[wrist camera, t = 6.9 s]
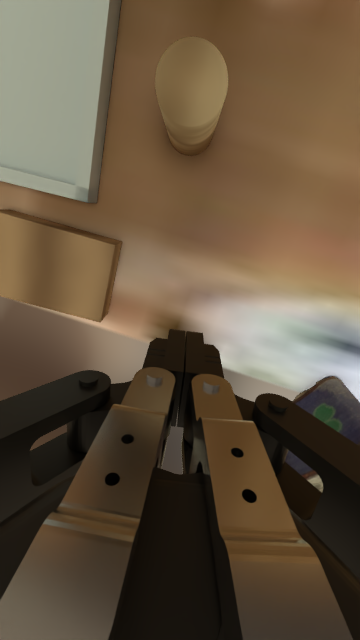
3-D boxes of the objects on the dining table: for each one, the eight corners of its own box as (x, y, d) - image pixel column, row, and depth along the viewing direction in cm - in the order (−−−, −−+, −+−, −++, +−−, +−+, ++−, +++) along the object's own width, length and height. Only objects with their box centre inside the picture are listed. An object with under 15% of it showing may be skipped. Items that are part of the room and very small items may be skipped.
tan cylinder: (219, 108, 22) (237, 48, 14) (207, 160, 23) (216, 134, 15) (173, 95, 22) (163, 27, 14) (163, 149, 23) (148, 116, 15)
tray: (127, -53, 19) (119, -89, 17) (96, 203, 25) (87, 202, 22) (-43, -105, 18) (-76, -149, 16) (-34, 170, 24) (-58, 166, 22)
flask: (332, 370, 30) (404, 452, 20) (347, 389, 31) (424, 477, 21) (259, 417, 32) (291, 511, 22) (275, 433, 33) (312, 531, 23)
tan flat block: (122, 241, 26) (115, 245, 24) (109, 311, 29) (100, 322, 26) (12, 209, 26) (-10, 209, 23) (7, 284, 28) (-13, 292, 25)
